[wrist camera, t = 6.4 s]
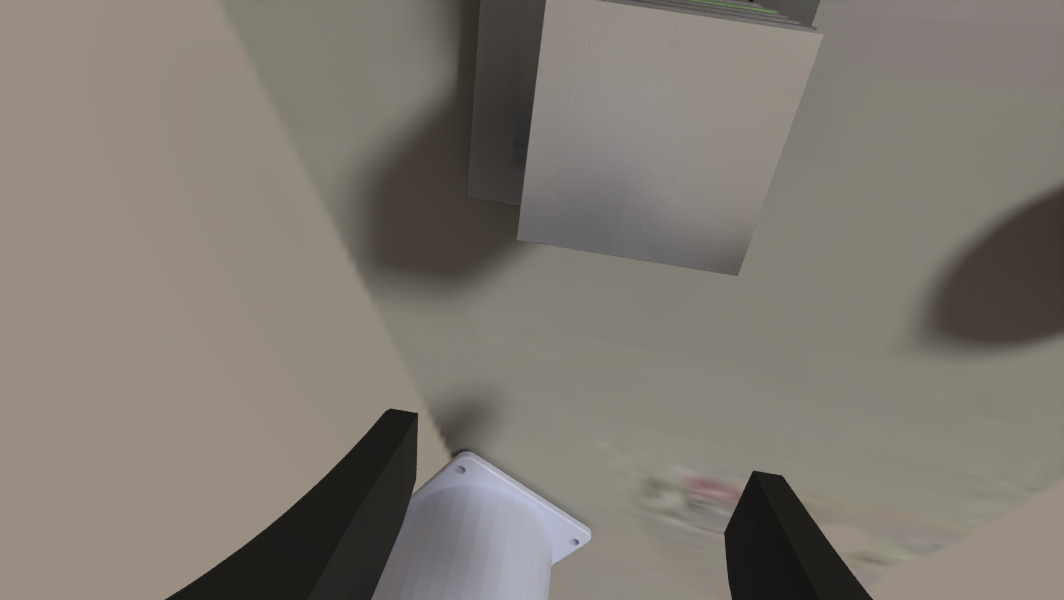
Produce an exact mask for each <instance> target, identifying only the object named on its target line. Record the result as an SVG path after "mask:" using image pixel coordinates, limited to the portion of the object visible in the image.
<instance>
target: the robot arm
mask: <svg viewBox="0 0 1064 600" xmlns="http://www.w3.org/2000/svg"><path fill="white" fill-rule="evenodd" d="M417 431H418V413H413V412H408V411H402V410H396V409H389V410H387V411H386V412H385V413H384V414H383V415H382V416H381V417H380V418H379V420H378V421H377V422H376V423H375V424H374V426H373V427H372V428H371V429H370V430H369V431H368V432H367V434H365V436H364V437H363V438H362V439H361V440H360V441H359V442H358V443H357V444H356V445H355V446H354V447H353V449H352V450H351V451H350V452H349V453H348V454H347V455H346V456H345V457H344V458H343V459H342V460H341V461H340V462H339V463H338V464H337V465H336V466H335V467H334V468H333V469H332V470H331V471H330V472H329V473H328V474H327V475H326V476H325V477H324V478H323V479H322V480H321V481H320V482H319V483H318V484H317V485H315V486H314V487H313V488H312V489H311V490H310V491H309V492H308V493H307V494H306V495H304V496H303V497H302V498H301V499H300V500H299V501H298V502H297V503H295V504H294V505H293V506H292V507H291V508H290V509H289V510H288V511H287V512H285V513H284V514H283V515H282V516H281V517H280V518H278V519H277V520H276V521H275V522H273V523H272V524H271V525H270V526H269V527H267V528H266V529H265V530H264V531H262V532H261V533H260V534H259V535H257V536H256V537H255V538H253V539H252V540H251V541H250V542H248V543H247V544H246V545H244V546H243V547H242V548H241V549H239V550H238V551H236V552H235V553H234V554H232V555H231V556H229V557H228V558H227V559H226V560H224V561H222V562H221V563H220V564H218V565H217V566H216V567H214V568H213V569H211V570H210V571H208V572H207V573H205V574H204V575H203V576H201V577H200V578H198V579H197V580H195V581H194V582H192V583H191V584H189V585H188V586H186V587H185V588H183V589H181V590H180V591H178V592H176V593H175V594H173V595H172V596H170V597H169V598H167V599H165V600H548V596H549V585H550V574H551V566H552V565H553V564H555V563H556V562H558V561H560V560H561V559H563V558H564V557H566V556H567V555H569V554H570V553H572V552H573V551H575V550H576V549H578V548H580V547H581V546H583V545H584V544H586V543H587V542H589V541H590V539H591V530H590V529H589V528H588V527H587V526H585V525H584V524H582V523H580V522H579V521H577V520H576V519H574V518H573V517H571V516H570V515H568V514H567V513H565V512H564V511H562V510H560V509H559V508H557V507H556V506H554V505H553V504H551V503H550V502H548V501H547V500H545V499H544V498H542V497H540V496H539V495H537V494H536V493H534V492H533V491H531V490H530V489H528V488H527V487H525V486H523V485H522V484H520V483H519V482H517V481H516V480H514V479H513V478H511V477H510V476H508V475H507V474H505V473H503V472H502V471H500V470H499V469H497V468H496V467H494V466H493V465H491V464H490V463H488V462H486V461H485V460H483V459H482V458H480V457H479V456H477V455H476V454H474V453H472V452H469V451H464V452H461V453H459V454H458V455H457V456H456V457H455V458H453V459H452V460H451V461H450V462H449V463H448V464H447V465H446V466H444V467H443V468H442V469H441V470H440V471H439V472H438V473H436V474H435V475H434V476H433V477H432V478H431V479H430V480H429V481H428V482H426V483H425V484H424V485H423V486H422V487H421V488H420V489H419V490H417V491H416V492H415V493H414V494H413V495H412V491H413V488H414V484H415V481H416V465H417ZM459 466H462V467H459ZM411 495H412V496H411ZM724 534H725V548H726V561H727V571H728V581H729V586H730V591H731V596H732V600H873V599H872V598H871V597H870V596H869V594H868V593H867V592H866V590H865V589H864V588H863V587H862V585H861V584H860V583H859V581H858V580H857V579H856V578H855V576H854V575H853V574H852V572H851V571H850V570H849V568H848V567H847V566H846V564H845V563H844V562H843V560H842V559H841V558H840V556H839V555H838V554H837V552H836V551H835V550H834V548H833V547H832V546H831V544H830V543H829V541H828V540H827V539H826V537H825V536H824V534H823V533H822V532H821V530H820V529H819V527H818V526H817V524H816V523H815V522H814V520H813V519H812V517H811V516H810V515H809V513H808V512H807V510H806V509H805V507H804V506H803V505H802V503H801V502H800V500H799V499H798V497H797V496H796V494H795V493H794V492H793V490H792V489H791V487H790V486H789V484H788V483H787V482H786V480H785V479H784V477H783V476H782V475H776V474H770V473H764V472H758V471H753V472H752V474H751V476H750V478H749V481H748V483H747V485H746V487H745V489H744V491H743V494H742V496H741V498H740V500H739V502H738V504H737V506H736V509H735V511H734V513H733V515H732V517H731V519H730V521H729V524H728V526H727V528H726V530H725V532H724Z"/></svg>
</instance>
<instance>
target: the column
mask: <svg viewBox="0 0 1064 600" xmlns="http://www.w3.org/2000/svg"><path fill="white" fill-rule="evenodd" d="M788 18H789V16H787V15H784V14H778V11H776V10H772V9H765V8H763V7H761V4H759V3H754V2H750V1H747V0H546V6H545V14H544V22H543V30H542V39H541V47H540V55H539V63H538V71H537V79H536V87H535V96H534V104H533V112H532V120H531V128H530V136H529V144H528V152H527V161H526V169H525V177H524V185H523V193H522V201H521V209H520V217H519V226H518V234H517V240H520V241H526V242H532V243H538V244H544V245H550V246H556V247H563V248H569V249H575V250H581V251H587V252H593V253H599V254H606V255H612V256H618V257H624V258H630V259H636V260H642V261H649V262H655V263H661V264H667V265H673V266H679V267H686V268H692V269H698V270H704V271H710V272H716V273H722V274H729V275H735V276H738V273H739V271H740V268H741V265H742V262H743V259H744V257H745V254H746V251H747V248H748V245H749V243H750V240H751V237H752V234H753V231H754V229H755V226H756V223H757V220H758V218H759V215H760V212H761V209H762V206H763V204H764V201H765V198H766V195H767V192H768V190H769V187H770V184H771V181H772V178H773V176H774V173H775V170H776V167H777V164H778V162H779V159H780V156H781V153H782V150H783V148H784V145H785V142H786V139H787V136H788V134H789V131H790V128H791V125H792V122H793V120H794V117H795V114H796V111H797V109H798V106H799V103H800V100H801V97H802V95H803V92H804V89H805V86H806V83H807V81H808V78H809V75H810V72H811V69H812V67H813V64H814V61H815V58H816V55H817V53H818V50H819V47H820V44H821V41H822V39H823V36H824V34H822V33H820V32H817V31H816V29H817V28H815V27H813V26H808V25H802V24H801V23H802V22H801V21H799V20H794V19H788Z"/></svg>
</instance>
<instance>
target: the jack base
mask: <svg viewBox="0 0 1064 600" xmlns="http://www.w3.org/2000/svg"><path fill="white" fill-rule="evenodd" d="M747 1H750V2H754V3H759V4H761V7H763V8H765V9H772V10H776V11H778V14H784V15H787V16H789V18H788V19H794V20H799V21H801V22H802V23H801V24H802V25H808V26H811V25H812V22H813V19H814V16H815V13H816V10H817V8H818V5H819V2H820V0H747ZM545 6H546V0H480V12H479V26H478V41H477V55H476V70H475V84H474V98H473V113H472V127H471V141H470V156H469V170H468V184H467V197H468V198H474V199H481V200H487V201H493V202H499V203H506V204H512V205H518V206H521V201H522V193H523V185H524V177H525V169H526V161H527V152H528V144H529V136H530V128H531V120H532V112H533V104H534V96H535V87H536V79H537V71H538V63H539V55H540V47H541V39H542V30H543V22H544V14H545Z"/></svg>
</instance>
